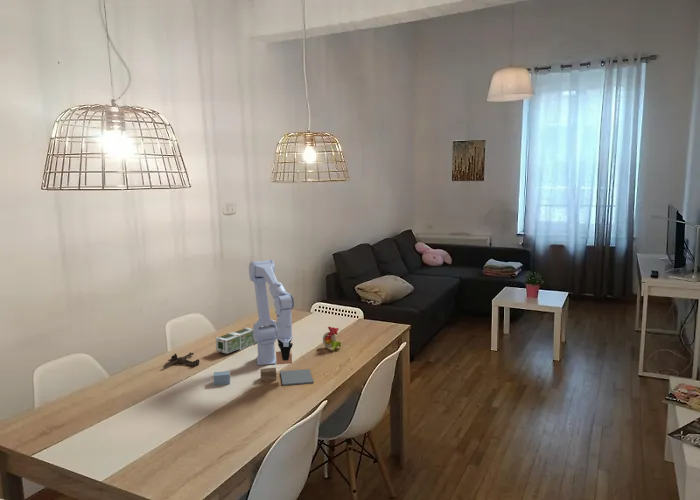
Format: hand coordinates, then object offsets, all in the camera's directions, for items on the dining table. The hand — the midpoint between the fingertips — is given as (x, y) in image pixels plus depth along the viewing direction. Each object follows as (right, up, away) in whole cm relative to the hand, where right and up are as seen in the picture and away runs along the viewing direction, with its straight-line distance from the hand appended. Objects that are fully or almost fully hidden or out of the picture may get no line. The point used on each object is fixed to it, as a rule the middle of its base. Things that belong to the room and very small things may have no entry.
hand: (285, 358), depth 206 cm
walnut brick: (-7, -9, +1) cm, 11 cm away
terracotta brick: (-1, -2, 0) cm, 2 cm away
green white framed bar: (-23, -2, +42) cm, 48 cm away
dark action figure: (-46, -6, +17) cm, 49 cm away
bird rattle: (+17, -3, +35) cm, 39 cm away
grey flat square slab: (+4, -8, +2) cm, 10 cm away
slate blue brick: (-24, -9, -3) cm, 26 cm away
